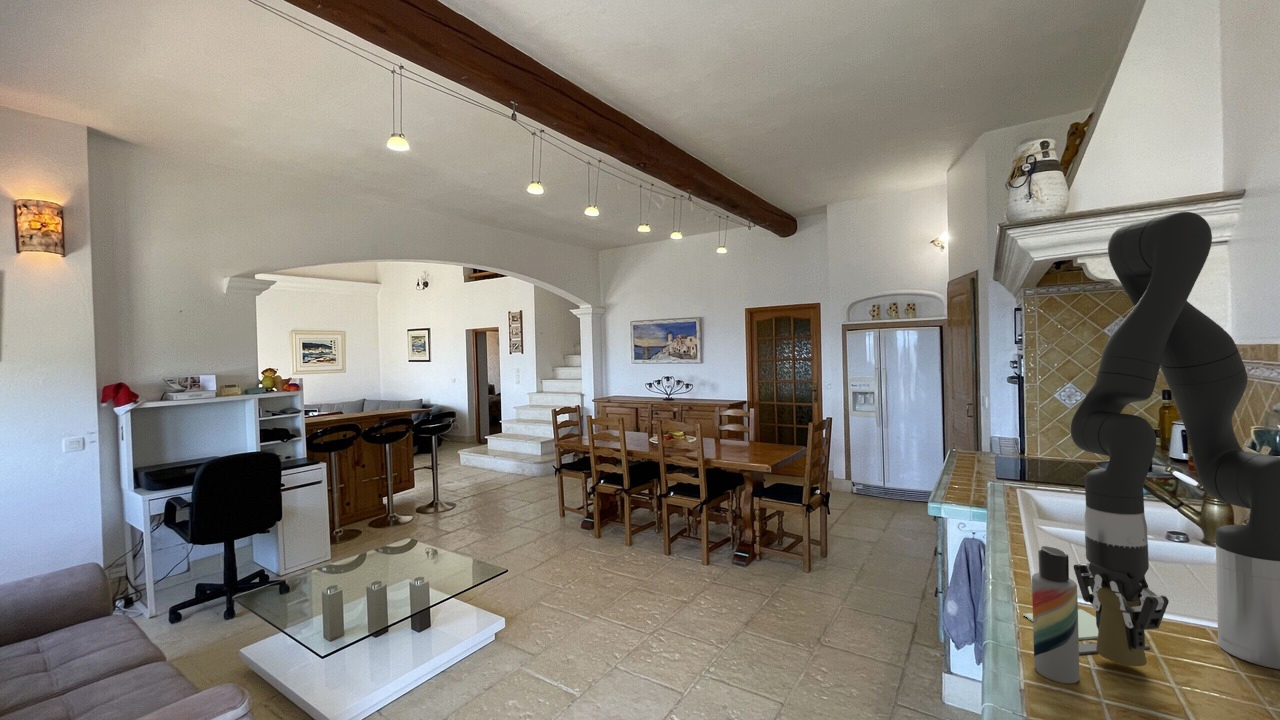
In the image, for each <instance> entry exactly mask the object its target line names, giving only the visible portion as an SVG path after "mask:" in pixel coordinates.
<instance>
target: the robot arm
mask: <svg viewBox="0 0 1280 720" xmlns="http://www.w3.org/2000/svg"><path fill="white" fill-rule="evenodd" d="M1212 242H1213V234H1212V228H1211V226H1210V225H1209V223H1208V222H1207V220H1206V219H1205V218H1204V217H1202V216H1201V215H1199V214H1198V213H1195V212H1191V211H1178V212H1173V213H1169V214H1165V215H1160V216H1156V217H1152V218H1147V219H1144V220H1141V221H1140V220H1139V221H1136V222H1132V223H1129V224H1125V225H1123V226H1120V227H1119V228H1117V229H1116V230H1115V231H1114V232H1113V233H1111V235H1110V238H1109V239H1108V243H1107V254H1108V259H1109V263H1110V265H1111V267H1112V269H1113V271H1114V273H1115V275H1116V277H1117V279H1118V281H1119V282H1120V284H1121V285H1122V288H1123V289H1124V290H1125V293H1126V295H1127V296H1128V297H1129V299H1130V301H1131V303H1132V305H1133V309H1132V310H1130V312H1129V313H1128V314H1127V316H1125V318H1124V319H1123V320H1122V321H1121V322H1120V324H1118V326H1117V327H1116V328H1115V329H1114V331H1113V332H1112V334H1111V336H1109V338H1108V341H1107V342H1106V344H1105V346H1104V348H1103V352H1102V355H1101V357H1100V358H1101V359H1100V362H1099V366H1098V370H1097V374H1096V378H1095V382H1094V384H1092V386H1091V388H1090V389H1089V391H1088V392H1087V393H1086V395H1085V397H1084V398H1083V400H1082V401H1081V403H1080V405H1079V406H1078V408H1077V410H1076V411H1075V413H1074V415H1073V417H1072V420H1071V424H1070V434H1071V435H1070V436H1071V438H1072V441H1073V442H1074V445H1076V446H1077V448H1079V449H1080V450H1082V451H1085V452H1088V453H1092V454H1097V455H1101V456H1102V455H1103V456H1107V457H1109V459H1108V460H1109V461H1108V464H1107V466H1106V468H1096V469H1092V470H1090V471H1088V472H1087V473H1086V474H1085V478H1084V489H1085V490H1084V495H1085V510H1084V511H1085V512H1084V522H1083V523H1084V542H1085V543H1084V544H1085V558H1086V560H1087V562H1089V563H1079V564H1078V563H1077V564H1074V565H1073V570H1074V573H1075V576H1076V580H1077V583H1078V587H1079V591H1080V594H1081V597H1082V599H1083V601H1084V602H1086V603H1089V604H1091V606H1092V608H1093V610H1095V617H1096V625H1097V628H1098V632H1099V624H1100V617H1101V609H1102V604H1101V603H1100V602H1099V600H1098V596H1097V592H1098V589H1100V588H1102V587H1105V586H1106V587H1109V588H1111V589H1112V591H1113V592H1114V594H1115V595H1117V597H1119V598H1118V599H1119V601H1120V603H1121V604H1120V610H1121V611H1123V617H1124V620H1125V624H1126V626H1125V629H1126V635H1127V641H1128V647H1129V649H1130V650H1131V651H1132V649H1133V648H1134V649H1141V650H1142V649H1143V648H1144V647H1145V644H1146V643H1145V642H1146V640H1145V639H1146V638H1145V631H1147V630H1156V629H1157V630H1158V629H1160V626H1161V623H1162V621H1163V618H1164V615H1165V613H1166V610H1167V607H1168V605H1169V603H1170V602H1169V598H1168V597H1167V596H1166V595H1163V594H1162V595H1158V594H1156V593H1155V592H1154V591H1152V590H1151V589H1149V585H1148V583H1147V580H1146V573H1147V572H1148V570H1149V567H1150V566H1149V565H1150V564H1149V563H1150V561H1149V560H1150V559H1149V541H1148V539H1149V538H1148V535H1149V534H1148V525H1147V520H1146V515H1145V500H1144V499H1145V497H1144V487H1145V486H1144V485H1145V482H1146V480H1147V476H1148V474H1149V469H1150V467H1151V464H1152V461H1153V458H1154V455H1155V452H1156V449H1157V435H1156V432H1155V430H1154V428H1153V426H1152V425H1151V424H1150V423H1149V421H1148V420H1146V419H1145V418H1144V417H1141V416H1139V415H1135V414H1129V413H1122V411H1123V410H1124V409H1125V408H1126V406H1127V405H1129V404H1131V403H1136V402H1137V403H1138V402H1143V401H1146V400H1148V399H1150V398H1151V396H1153V392H1154V390H1155V387H1156V383H1157V379H1158V375H1159V372H1160V369H1161V372H1162V374H1163V377H1164V379H1165V381H1166V384H1167V385H1168V388H1169V391H1170V392H1171V395H1172V396H1173V398H1174V401H1175V404H1176V407H1177V410H1178V413H1179V415H1180V418H1181V422H1182V424H1183V427H1184V430H1185V432H1186V436H1187V439H1188V440H1187V441H1188V443H1189V446H1190V450H1191V454H1192V458H1193V463H1194V465H1195V466H1194V467H1195V471H1196V474H1197V477H1198V480H1199V482H1200V485H1201V486H1202V488H1203V490H1205V492H1206V493H1207V495H1209V496H1210V497H1212V498H1213V499H1215V500H1217V501H1219V502H1222V503H1225V504H1228V505H1232V506H1236V507H1241V508H1245V509H1249V510H1250V511H1249V518H1248V522H1247V523H1246V524H1228V525H1227V524H1226V525H1222V526H1219V527H1217V529H1216V530H1215V561H1216V564H1215V565H1216V572H1215V573H1216V607H1217V608H1216V609H1217V611H1216V613H1217V614H1216V615H1217V644H1218V646H1219V647H1220V648H1221V649H1222V650H1223V651H1224V652H1227V653H1228V654H1230V655H1232V656H1234V657H1236V658H1238V659H1240V660H1243V661H1245V662H1249V663H1252V664H1255V665H1257V666H1258V665H1259V666H1262V667H1267V668H1270V669H1275V670H1280V456H1276V455H1270V454H1262V453H1258V452H1252V451H1250V452H1249V451H1245V450H1243V448H1242V447H1241V445H1240V443H1239V442H1238V440H1237V437H1236V434H1235V430H1234V427H1233V416H1234V414H1235V411H1236V410H1237V407H1238V405H1239V404H1240V402H1241V399H1242V398H1243V396H1244V394H1245V391H1246V388H1247V385H1248V382H1249V381H1248V378H1249V377H1248V372H1247V370H1246V367H1245V363H1244V361H1243V359H1242V356H1241V353H1240V351H1239V348H1238V347H1237V345H1236V343H1235V340H1234V339H1233V337H1232V336H1231V335H1230V334H1229V333H1228V332H1227V331H1226V330H1225V329H1224V328H1223V327H1222V326H1220V324H1219V323H1217V322H1216V321H1214V320H1213V319H1211V318H1210V317H1209V316H1207V315H1206V314H1205V313H1203V312H1202V311H1201V310H1199V309H1198V308H1197V307H1195V306H1194V305H1193V304H1191V303H1190V302H1189V301H1188V299H1189V296H1190V294H1191V293H1192V290H1193V288H1194V286H1195V284H1196V282H1197V280H1198V278H1199V277H1200V274H1201V272H1202V270H1203V268H1204V266H1205V264H1206V261H1207V259H1208V257H1209V254H1210V251H1211V247H1212ZM1089 587H1090V590H1091V593H1090V590H1089ZM1138 599H1139V602H1140V604H1139V606H1135V607H1129V606H1128V605H1127V603H1126V600H1127V601H1130V602H1131V601H1137V600H1138ZM1133 612H1136V613H1135V616H1136V619H1134V618H1133V615H1132V613H1133Z"/></svg>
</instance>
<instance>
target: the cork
mask: <svg viewBox="0 0 1280 720" xmlns="http://www.w3.org/2000/svg"><path fill="white" fill-rule="evenodd" d="M1097 596H1098V600H1099V602H1100V603H1101V604H1102V609H1101V617H1100V624H1099V632H1098V638H1096V639H1097V640H1096V643H1097V647H1096V650H1097V652H1098V653H1097V654H1099V656H1101V657H1103V658H1104V659H1106V660H1108V661H1110V662H1113V663H1116V664H1120V665H1124V666H1129V667H1142V666H1146V664H1147V663H1148V661H1147V657H1146V652H1145V649H1144V648H1143V649H1142V650H1141V649H1134V648H1133V649H1132V651H1131V650H1130V649H1129V647H1128V641H1127V635H1126V629H1125V626H1126V624H1125V620H1124V617H1123V611H1121V610H1120V604H1121V603H1120V601H1119V599H1118V598H1119V597H1117V595H1115V594H1114V592H1113V591H1112V589H1111V588H1109V587H1106V586H1105V587H1102V588H1100V589H1098V592H1097ZM1126 603H1127V605H1128V606H1129V607H1135V606H1139V604H1140V602H1139V599H1138V600H1137V601H1131V602H1130V601H1127V600H1126ZM1135 613H1136V612H1133V613H1132V615H1133V618H1134V619H1136V616H1135Z"/></svg>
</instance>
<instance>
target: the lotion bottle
mask: <svg viewBox="0 0 1280 720" xmlns="http://www.w3.org/2000/svg"><path fill="white" fill-rule="evenodd" d="M1037 552H1038V554H1037V555H1038V572H1036V573H1033V574H1032V577H1031V598H1032V599H1031V600H1032V602H1031V603H1032V613H1033V622H1032V632H1033V633H1032V635H1033V638H1032V639H1033V660H1034V661H1033V662H1034V668H1035V670H1036V672H1037V673H1039V675H1041V676H1042V677H1045V678H1047V679H1048V680H1050V681H1054V682H1057V683H1061V684H1075V683H1077V682H1078V681H1079V680H1080V655H1079V645H1080V644H1079V643H1080V642H1079V641H1080V640H1079V635H1078V609H1079V608H1078V607H1079V606H1078V601H1079V600H1078V585H1077V582H1075V581H1074V580H1073V579H1071V578H1070V576H1069V575H1070V574H1069V572H1070V571H1069V570H1070V568H1069V566H1070V565H1069V563H1070V562H1069V554H1068V553H1067V552H1066V551H1064V550H1062V549H1061V548H1059V547H1058V548H1057V547H1054V546H1053V547H1052V546H1048V545H1047V546H1046V545H1042V546H1041V547H1040V548H1039V549H1038V551H1037Z"/></svg>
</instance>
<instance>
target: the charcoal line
mask: <svg viewBox="0 0 1280 720" xmlns="http://www.w3.org/2000/svg"><path fill="white" fill-rule="evenodd" d="M1096 647H1097V642H1096V643H1095V642H1094V643H1085V644H1084V643H1083V644H1079V656H1080V655H1089V654H1090V655H1091V654H1099V653H1098V652H1097V650H1096ZM1150 648H1151V646H1150V645H1149V644H1147V643H1145V647H1144V650H1146V649H1150Z"/></svg>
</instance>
